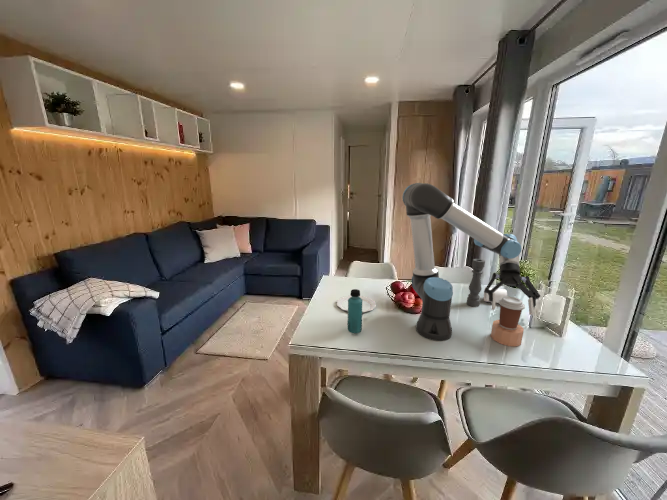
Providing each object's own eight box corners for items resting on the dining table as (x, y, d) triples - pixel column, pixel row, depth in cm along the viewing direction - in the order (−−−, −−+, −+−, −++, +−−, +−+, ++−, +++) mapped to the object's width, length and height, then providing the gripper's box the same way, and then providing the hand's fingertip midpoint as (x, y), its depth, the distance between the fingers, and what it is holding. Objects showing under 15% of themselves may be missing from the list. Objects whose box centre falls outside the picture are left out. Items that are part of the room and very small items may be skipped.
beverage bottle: (364, 332, 123) (366, 290, 118) (354, 338, 118) (356, 294, 114) (353, 327, 128) (355, 286, 123) (343, 332, 123) (344, 290, 118)
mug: (505, 306, 150) (508, 292, 148) (484, 303, 153) (486, 290, 151) (501, 298, 161) (503, 285, 159) (482, 295, 164) (484, 282, 162)
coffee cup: (518, 334, 112) (523, 306, 109) (493, 326, 117) (497, 300, 114) (522, 325, 118) (527, 299, 115) (497, 318, 124) (502, 293, 121)
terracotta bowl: (509, 348, 112) (512, 335, 111) (485, 335, 122) (487, 322, 120) (527, 342, 116) (529, 329, 115) (502, 329, 126) (504, 317, 125)
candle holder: (479, 303, 153) (485, 259, 147) (479, 307, 148) (485, 262, 142) (466, 301, 156) (472, 258, 150) (466, 305, 151) (472, 260, 145)
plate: (378, 315, 140) (378, 312, 139) (336, 314, 140) (336, 311, 140) (373, 298, 160) (373, 295, 159) (336, 297, 160) (336, 294, 160)
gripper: (539, 272, 124) (544, 319, 114) (476, 266, 132) (476, 309, 122) (545, 264, 118) (552, 313, 108) (480, 259, 125) (480, 303, 115)
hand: (512, 311), depth 115 cm, fingers open, 13 cm apart
